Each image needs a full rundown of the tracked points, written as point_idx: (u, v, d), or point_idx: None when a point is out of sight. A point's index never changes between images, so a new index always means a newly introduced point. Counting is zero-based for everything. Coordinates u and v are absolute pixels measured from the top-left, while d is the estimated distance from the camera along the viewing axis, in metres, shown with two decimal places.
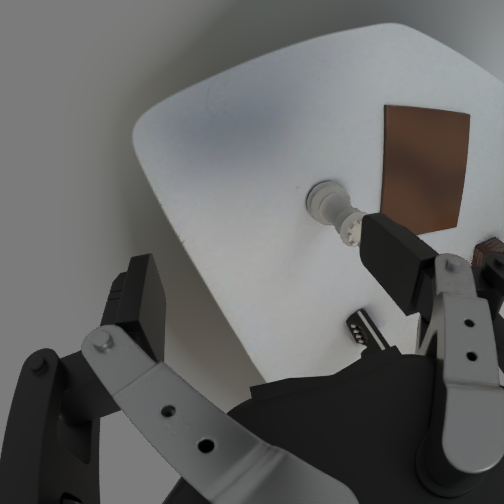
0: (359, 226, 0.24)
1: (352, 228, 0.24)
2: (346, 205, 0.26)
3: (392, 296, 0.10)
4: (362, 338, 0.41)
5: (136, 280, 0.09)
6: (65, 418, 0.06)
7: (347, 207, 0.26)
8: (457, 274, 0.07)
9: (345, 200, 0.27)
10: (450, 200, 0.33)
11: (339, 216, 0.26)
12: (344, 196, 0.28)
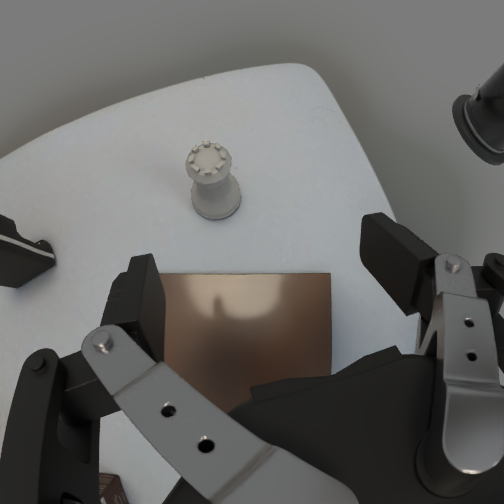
0: (216, 156, 0.20)
1: (217, 144, 0.20)
2: None
3: (392, 296, 0.10)
4: None
5: (136, 280, 0.09)
6: (65, 418, 0.06)
7: None
8: (457, 274, 0.07)
9: (227, 189, 0.24)
10: None
11: None
12: (229, 195, 0.25)
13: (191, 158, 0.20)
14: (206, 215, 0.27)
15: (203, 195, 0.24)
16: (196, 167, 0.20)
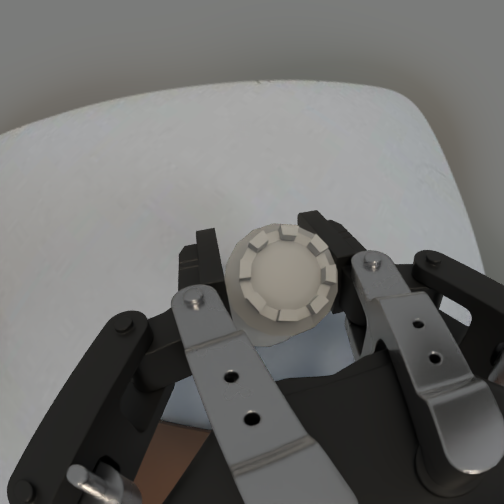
0: (310, 270, 0.08)
1: (318, 239, 0.08)
2: None
3: None
4: None
5: (209, 249, 0.10)
6: (136, 382, 0.07)
7: None
8: (372, 272, 0.08)
9: None
10: None
11: None
12: None
13: (247, 269, 0.08)
14: None
15: None
16: (258, 299, 0.07)
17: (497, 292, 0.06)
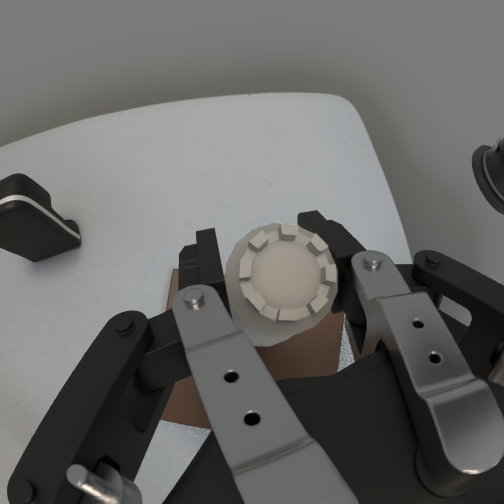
0: (310, 270, 0.08)
1: (318, 238, 0.08)
2: None
3: None
4: None
5: (209, 249, 0.10)
6: (136, 382, 0.07)
7: None
8: (372, 272, 0.08)
9: None
10: (201, 402, 0.24)
11: None
12: None
13: (247, 269, 0.08)
14: None
15: None
16: (258, 299, 0.07)
17: (497, 293, 0.06)
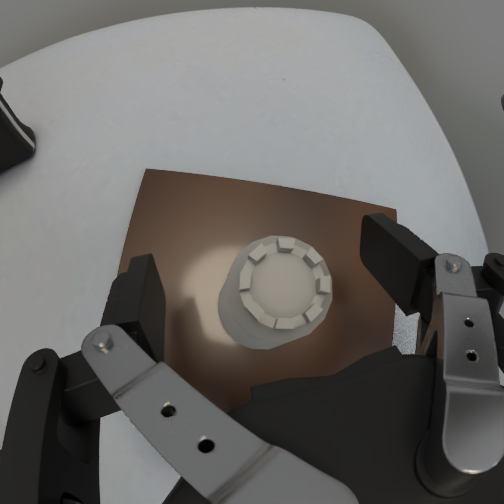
0: (306, 281, 0.09)
1: (313, 251, 0.08)
2: None
3: (392, 296, 0.10)
4: None
5: (136, 280, 0.09)
6: (65, 418, 0.06)
7: None
8: (457, 274, 0.07)
9: None
10: None
11: None
12: None
13: (246, 281, 0.08)
14: None
15: None
16: (257, 308, 0.08)
17: None
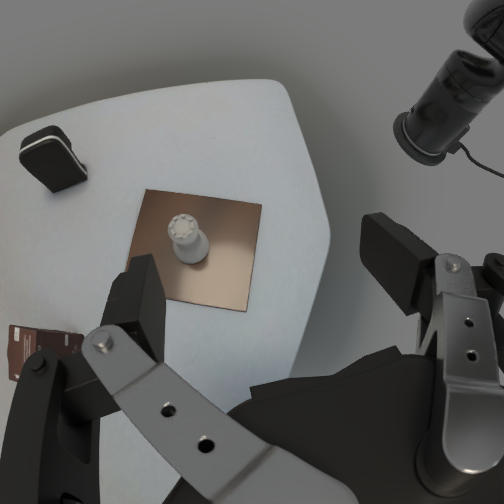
0: (188, 225, 0.31)
1: (190, 217, 0.31)
2: (196, 237, 0.34)
3: (392, 296, 0.10)
4: None
5: (136, 280, 0.09)
6: (65, 418, 0.06)
7: (196, 236, 0.33)
8: (457, 274, 0.07)
9: (196, 245, 0.35)
10: None
11: None
12: (198, 249, 0.35)
13: (171, 225, 0.30)
14: (181, 259, 0.37)
15: (179, 247, 0.34)
16: (173, 232, 0.30)
17: None
